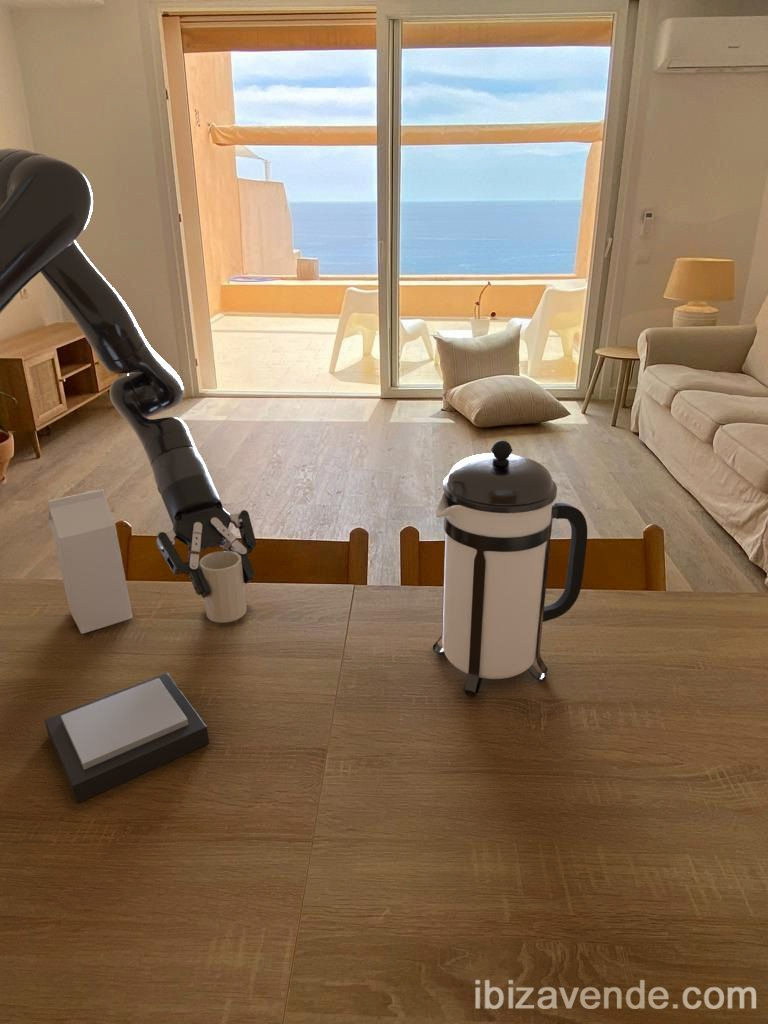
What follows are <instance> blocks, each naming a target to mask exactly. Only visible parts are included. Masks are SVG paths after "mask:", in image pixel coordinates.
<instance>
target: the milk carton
mask: <svg viewBox="0 0 768 1024" xmlns="http://www.w3.org/2000/svg"><path fill="white" fill-rule="evenodd" d="M47 505H48V522H49V526H50V531H51V536H52V540H53V544H54V548H55V552H56V556H57V562H58V566H59V570H60V574H61V575H60V576H61V578H62V582H63V583H62V584H63V586H64V588H63V589H64V591H65V596H66V600H67V601H66V602H67V605H68V609H69V612H70V614H71V617H72V619H73V620H74V622H75V624H76V627H77V629H78V630H79V633H80V634H81V635H83V634H87V633H90V632H93V631H96V630H100V629H103V628H106V627H109V626H112V625H116V624H119V623H122V622H126V621H129V620H131V619H133V611H132V606H131V601H130V595H129V591H128V585H127V579H126V573H125V569H124V563H123V558H122V553H121V552H122V551H121V548H120V542H119V537H118V531H117V526H116V522H115V519H114V517H113V513H112V511H111V508H110V506H109V502H108V501H107V497H106V495H105V490H104V488H101V489H96V490H91V491H86V492H83V493H77V494H73V495H69V496H64V497H59V498H54V499H49V500H47Z"/></svg>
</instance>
